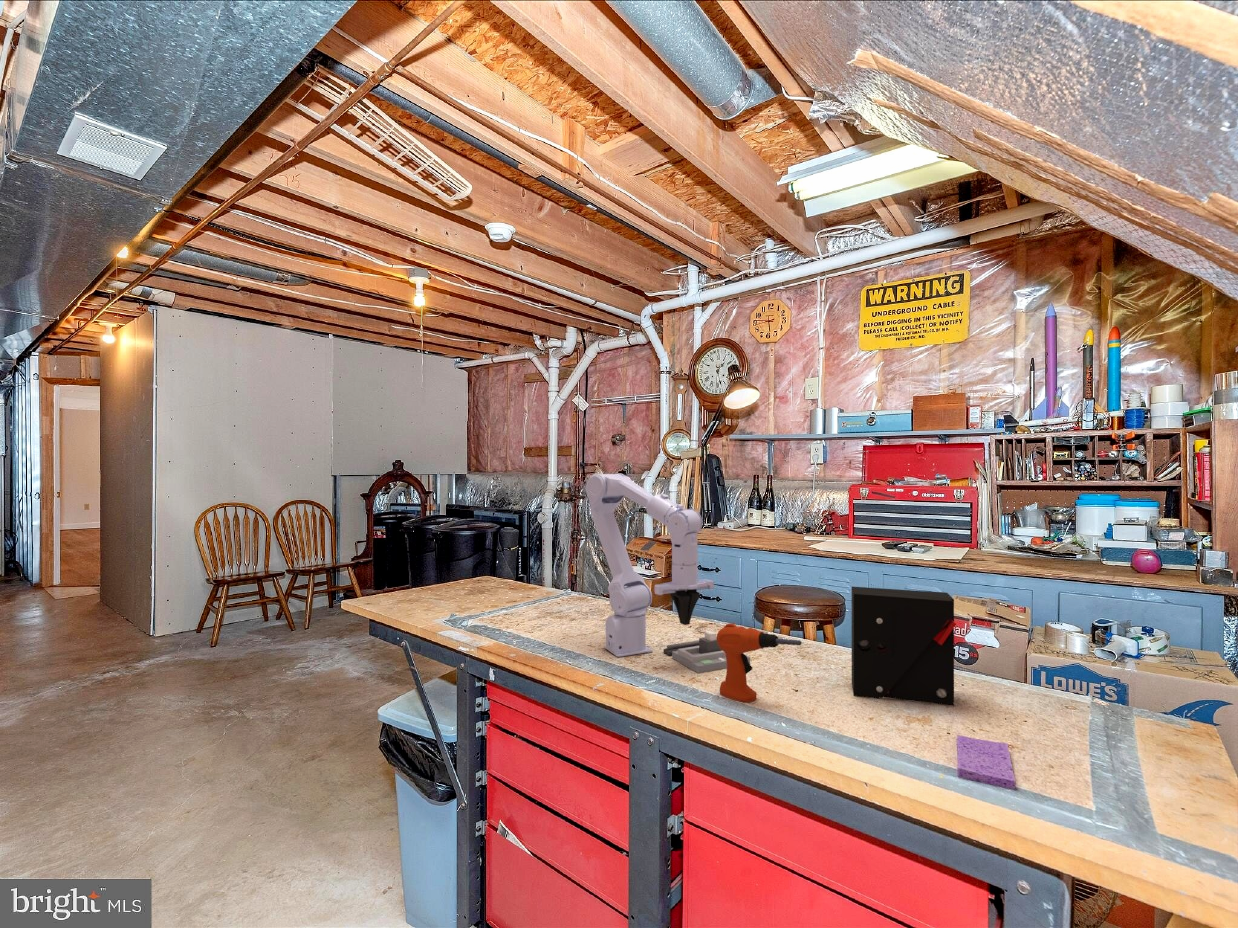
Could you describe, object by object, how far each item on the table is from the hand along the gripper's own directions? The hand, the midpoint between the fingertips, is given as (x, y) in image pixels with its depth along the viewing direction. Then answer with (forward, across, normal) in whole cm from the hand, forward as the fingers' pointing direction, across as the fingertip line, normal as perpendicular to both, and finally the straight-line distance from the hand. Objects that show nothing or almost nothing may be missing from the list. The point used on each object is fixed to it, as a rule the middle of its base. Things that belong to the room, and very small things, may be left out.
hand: (684, 623), depth 130 cm
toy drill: (+10, +2, -23) cm, 25 cm away
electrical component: (+10, +30, -32) cm, 45 cm away
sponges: (+10, +18, -56) cm, 60 cm away
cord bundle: (+9, +7, +8) cm, 14 cm away
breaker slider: (+8, +7, 0) cm, 10 cm away
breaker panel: (+9, +7, 0) cm, 12 cm away
